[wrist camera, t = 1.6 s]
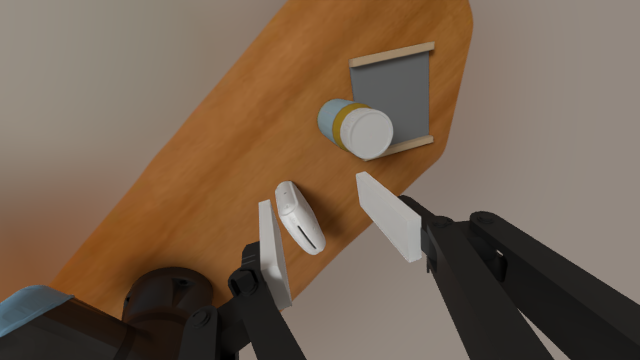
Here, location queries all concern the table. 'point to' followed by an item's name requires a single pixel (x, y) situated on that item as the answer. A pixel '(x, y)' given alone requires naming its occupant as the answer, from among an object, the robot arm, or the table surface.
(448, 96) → the table surface
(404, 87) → the grey tray
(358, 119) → the bottle
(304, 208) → the photo printer
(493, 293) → the robot arm
